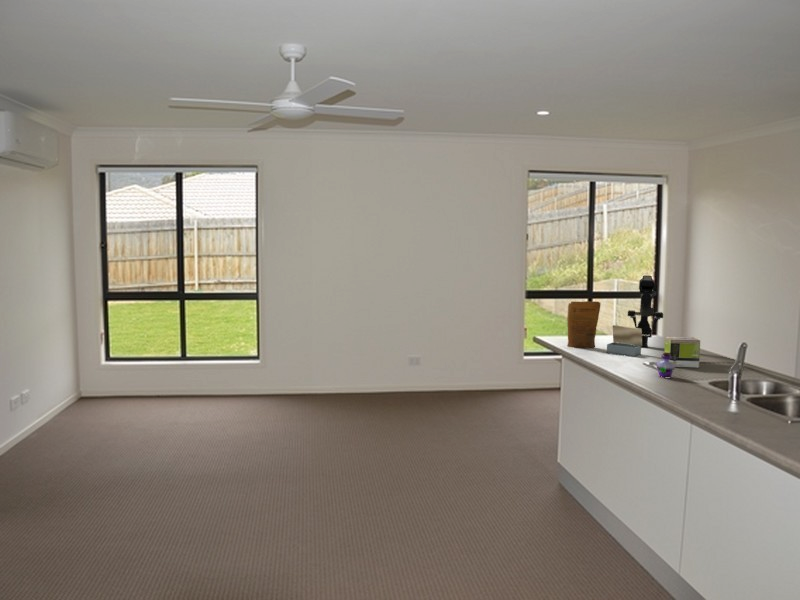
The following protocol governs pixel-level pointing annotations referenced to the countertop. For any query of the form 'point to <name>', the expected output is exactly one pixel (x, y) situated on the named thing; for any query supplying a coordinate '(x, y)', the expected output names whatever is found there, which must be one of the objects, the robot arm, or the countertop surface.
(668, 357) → the potion bottle
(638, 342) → the birch lid
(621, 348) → the slate box
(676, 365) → the tea box
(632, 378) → the countertop surface
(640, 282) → the robot arm
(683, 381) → the countertop surface
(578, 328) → the pancake mix bag
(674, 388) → the countertop surface
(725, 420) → the countertop surface
